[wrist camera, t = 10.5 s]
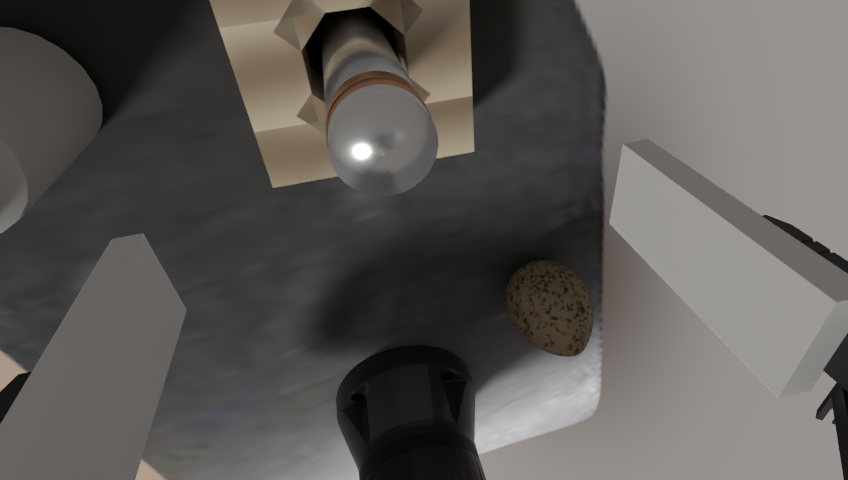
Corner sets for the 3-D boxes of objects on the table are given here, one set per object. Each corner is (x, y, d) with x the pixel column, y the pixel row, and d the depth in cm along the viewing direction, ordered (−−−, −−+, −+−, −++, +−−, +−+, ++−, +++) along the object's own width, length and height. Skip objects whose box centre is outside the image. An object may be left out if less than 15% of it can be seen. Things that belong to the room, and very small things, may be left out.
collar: (455, 122, 34) (474, 151, 30) (277, 153, 33) (272, 188, 29) (442, -94, 26) (466, -94, 22) (208, -65, 25) (189, -60, 21)
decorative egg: (557, 231, 42) (614, 306, 34) (569, 282, 46) (622, 359, 39) (484, 262, 43) (525, 343, 35) (503, 310, 47) (543, 392, 39)
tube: (389, 71, 31) (443, 187, 18) (328, 80, 30) (339, 205, 18) (379, 3, 28) (435, 83, 16) (313, 13, 28) (314, 102, 15)
